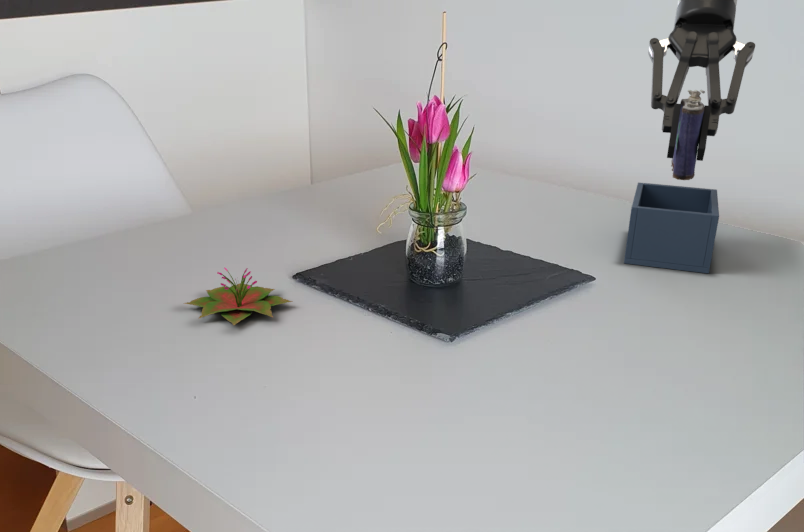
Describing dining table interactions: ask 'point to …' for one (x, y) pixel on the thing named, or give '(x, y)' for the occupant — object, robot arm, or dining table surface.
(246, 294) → the lily flower
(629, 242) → the bin
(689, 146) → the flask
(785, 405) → the dining table surface
